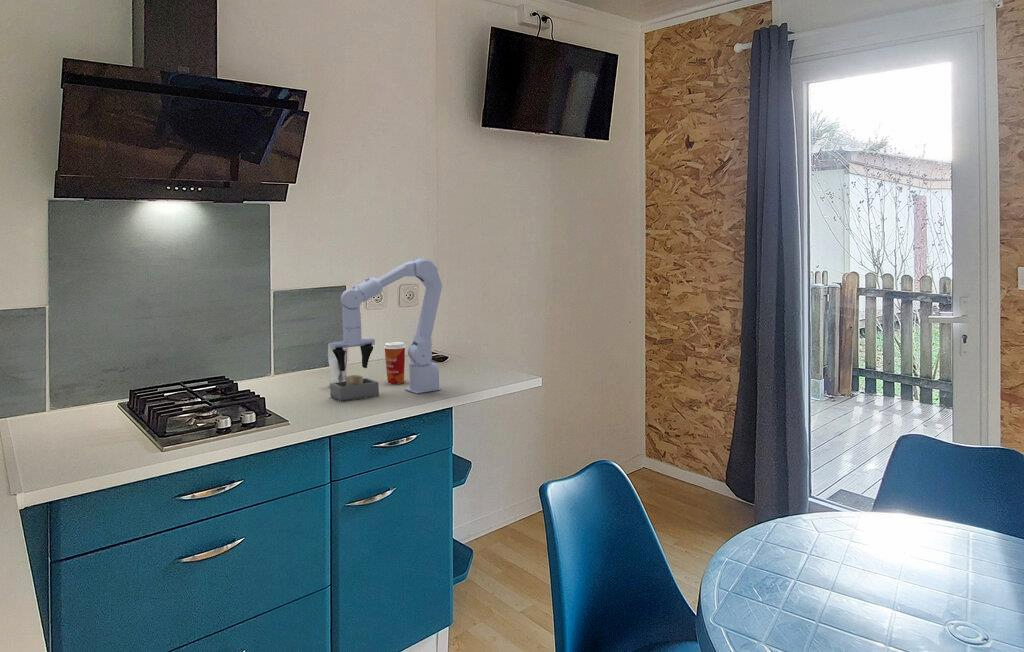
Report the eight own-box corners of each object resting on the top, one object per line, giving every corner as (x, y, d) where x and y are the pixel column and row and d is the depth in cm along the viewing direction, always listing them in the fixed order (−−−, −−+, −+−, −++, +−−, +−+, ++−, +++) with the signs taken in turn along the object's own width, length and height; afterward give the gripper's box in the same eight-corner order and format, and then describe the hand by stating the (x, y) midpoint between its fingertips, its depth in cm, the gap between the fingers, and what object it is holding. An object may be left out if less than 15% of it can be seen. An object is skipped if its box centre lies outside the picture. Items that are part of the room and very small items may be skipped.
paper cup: (380, 382, 242) (379, 343, 241) (399, 379, 248) (397, 340, 246) (392, 386, 237) (391, 346, 235) (411, 382, 242) (410, 343, 240)
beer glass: (325, 387, 235) (323, 344, 233) (337, 383, 242) (335, 341, 240) (341, 389, 233) (340, 345, 231) (354, 384, 239) (352, 342, 237)
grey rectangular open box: (367, 390, 230) (367, 377, 229) (378, 395, 223) (378, 382, 222) (330, 396, 222) (329, 383, 221) (341, 401, 215) (340, 387, 215)
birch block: (358, 392, 225) (357, 374, 224) (363, 394, 222) (362, 376, 221) (346, 394, 223) (345, 376, 222) (351, 396, 219) (351, 378, 219)
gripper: (367, 324, 227) (369, 364, 229) (325, 328, 218) (327, 369, 220) (377, 326, 221) (378, 367, 223) (334, 330, 213) (336, 373, 214)
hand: (353, 369), depth 221 cm, fingers open, 7 cm apart
